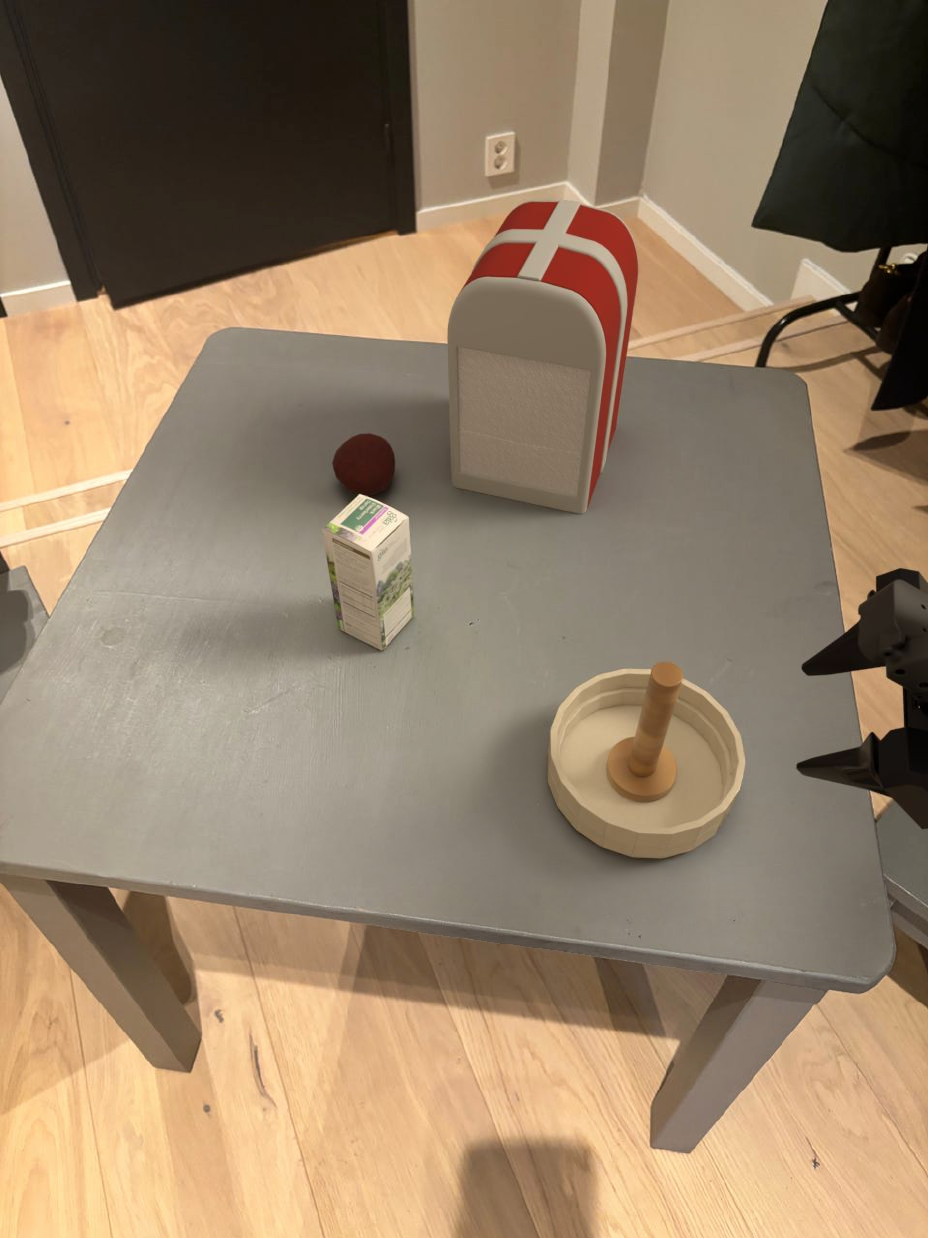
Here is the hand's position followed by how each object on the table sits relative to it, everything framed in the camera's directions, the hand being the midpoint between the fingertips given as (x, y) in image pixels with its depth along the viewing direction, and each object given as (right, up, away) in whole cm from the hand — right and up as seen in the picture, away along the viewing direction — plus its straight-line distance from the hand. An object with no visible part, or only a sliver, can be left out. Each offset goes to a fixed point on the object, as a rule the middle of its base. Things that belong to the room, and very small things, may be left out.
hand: (801, 718), depth 67 cm
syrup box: (-34, +7, +24) cm, 42 cm away
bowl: (-10, -6, +12) cm, 17 cm away
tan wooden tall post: (-10, -6, +12) cm, 16 cm away
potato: (-37, +23, +38) cm, 58 cm away
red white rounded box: (-17, +27, +41) cm, 52 cm away
